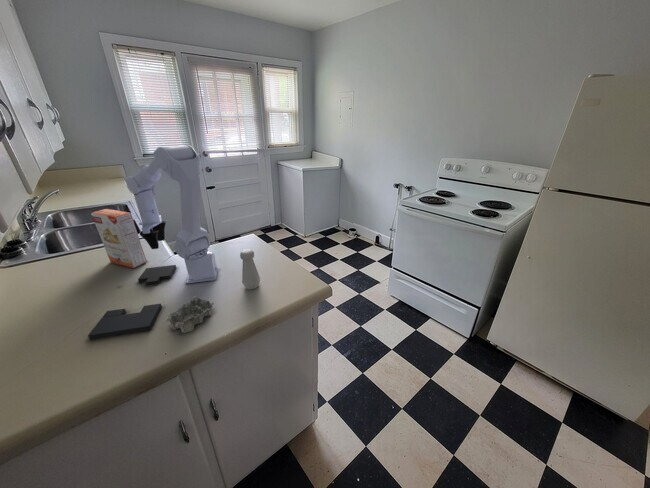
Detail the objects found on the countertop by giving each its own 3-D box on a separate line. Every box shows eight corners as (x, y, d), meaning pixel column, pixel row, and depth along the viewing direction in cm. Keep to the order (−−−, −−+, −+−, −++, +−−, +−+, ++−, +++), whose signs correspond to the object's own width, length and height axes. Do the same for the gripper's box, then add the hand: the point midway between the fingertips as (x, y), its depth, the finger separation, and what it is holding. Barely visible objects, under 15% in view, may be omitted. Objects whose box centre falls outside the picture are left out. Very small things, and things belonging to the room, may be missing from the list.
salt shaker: (264, 283, 91) (260, 249, 86) (253, 292, 86) (248, 256, 81) (250, 280, 93) (245, 246, 88) (239, 288, 89) (233, 253, 83)
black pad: (176, 268, 102) (175, 264, 101) (168, 283, 92) (167, 279, 92) (147, 271, 100) (146, 268, 99) (136, 287, 90) (134, 283, 90)
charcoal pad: (162, 307, 80) (160, 303, 80) (150, 330, 71) (149, 325, 71) (108, 315, 77) (107, 310, 77) (89, 339, 68) (87, 335, 68)
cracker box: (109, 263, 107) (89, 212, 98) (124, 256, 112) (107, 207, 103) (132, 269, 102) (114, 216, 93) (147, 262, 107) (131, 211, 98)
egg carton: (186, 336, 69) (182, 323, 68) (166, 327, 72) (162, 315, 70) (217, 311, 78) (214, 299, 76) (198, 305, 81) (195, 293, 79)
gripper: (143, 205, 102) (153, 238, 107) (127, 217, 89) (139, 253, 94) (163, 203, 103) (172, 236, 109) (150, 215, 90) (161, 251, 96)
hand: (158, 244), depth 102 cm, fingers open, 7 cm apart
